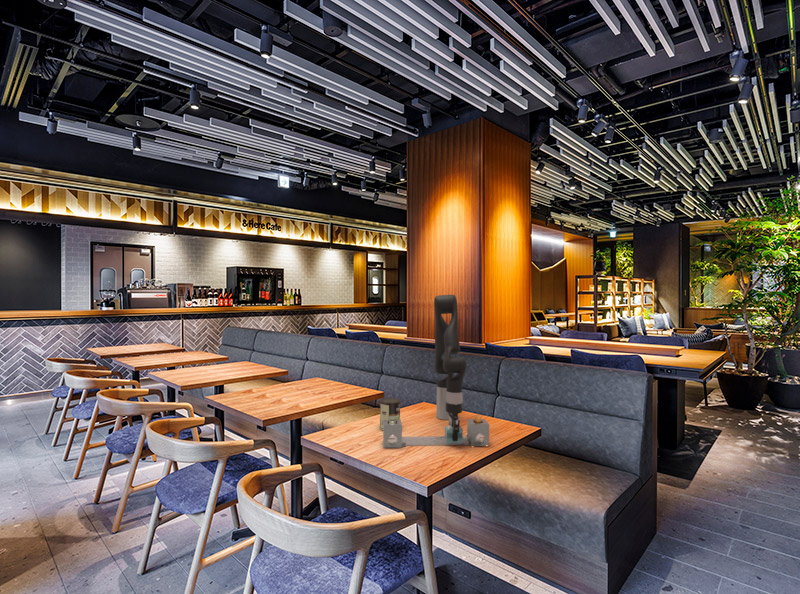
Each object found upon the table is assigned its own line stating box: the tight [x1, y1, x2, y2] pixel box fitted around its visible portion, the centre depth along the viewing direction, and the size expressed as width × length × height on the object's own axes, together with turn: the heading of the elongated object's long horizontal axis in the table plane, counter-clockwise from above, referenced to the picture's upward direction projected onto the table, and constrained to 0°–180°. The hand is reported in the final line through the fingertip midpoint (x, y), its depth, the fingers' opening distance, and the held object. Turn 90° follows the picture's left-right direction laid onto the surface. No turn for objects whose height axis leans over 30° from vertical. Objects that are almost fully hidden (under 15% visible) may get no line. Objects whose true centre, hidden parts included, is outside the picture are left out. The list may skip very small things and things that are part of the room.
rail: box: [402, 435, 469, 448], centre depth 188 cm, size 6×30×3 cm, turn 94°
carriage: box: [444, 425, 464, 443], centre depth 188 cm, size 5×7×6 cm
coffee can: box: [379, 397, 401, 431], centre depth 209 cm, size 10×10×14 cm
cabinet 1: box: [382, 419, 403, 449], centre depth 186 cm, size 9×8×11 cm
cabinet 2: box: [466, 418, 490, 447], centre depth 189 cm, size 9×8×10 cm
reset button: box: [474, 414, 482, 423], centre depth 189 cm, size 3×3×4 cm
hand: (453, 438), depth 188 cm, fingers closed on carriage, 5 cm apart
